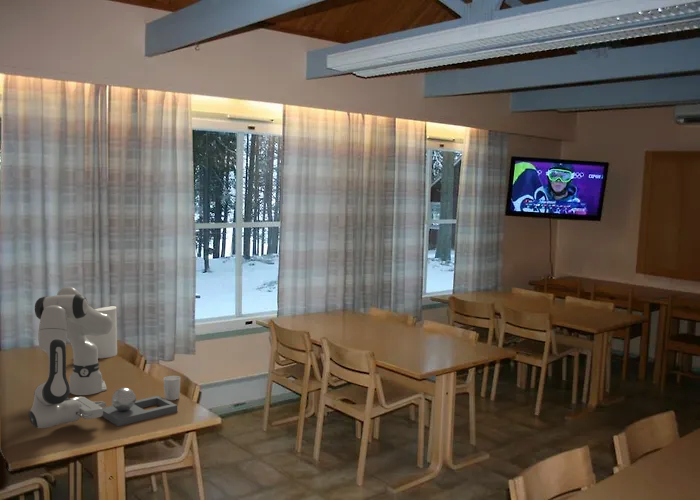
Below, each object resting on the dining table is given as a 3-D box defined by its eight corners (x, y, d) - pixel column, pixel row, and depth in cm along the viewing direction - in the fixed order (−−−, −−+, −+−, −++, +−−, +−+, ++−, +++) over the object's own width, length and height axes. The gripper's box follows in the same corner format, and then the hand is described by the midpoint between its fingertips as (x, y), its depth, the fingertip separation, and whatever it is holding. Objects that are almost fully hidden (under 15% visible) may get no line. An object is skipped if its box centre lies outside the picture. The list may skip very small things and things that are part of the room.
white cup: (160, 397, 322) (160, 377, 321) (176, 394, 327) (176, 374, 326) (168, 401, 316) (167, 381, 315) (183, 398, 321) (183, 378, 320)
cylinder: (123, 353, 401) (122, 307, 398) (98, 359, 386) (98, 311, 383) (104, 349, 410) (103, 304, 407) (79, 355, 395) (78, 308, 392)
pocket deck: (117, 426, 284) (117, 419, 284) (99, 415, 297) (99, 408, 297) (177, 411, 303) (177, 405, 303) (158, 401, 316) (157, 395, 316)
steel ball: (113, 407, 299) (112, 385, 298) (136, 405, 301) (136, 384, 300) (110, 414, 289) (110, 392, 288) (135, 413, 291) (134, 391, 290)
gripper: (81, 409, 271) (114, 402, 281) (62, 397, 286) (94, 390, 296) (82, 425, 272) (115, 417, 281) (62, 411, 287) (94, 404, 296)
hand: (104, 403), depth 289 cm, fingers closed
